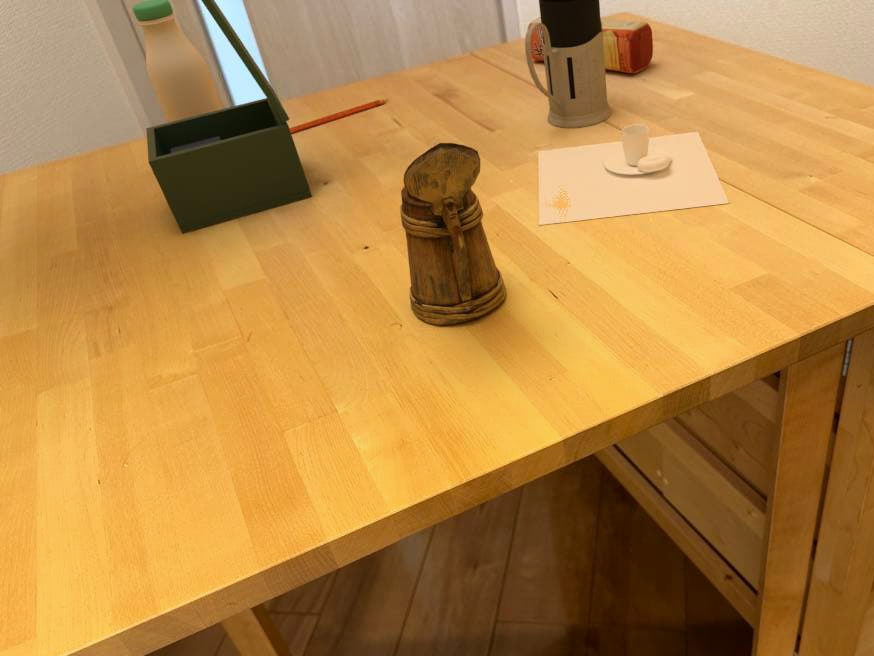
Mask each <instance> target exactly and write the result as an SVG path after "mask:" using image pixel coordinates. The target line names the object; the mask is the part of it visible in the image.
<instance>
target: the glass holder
mask: <svg viewBox="0 0 874 656" xmlns="http://www.w3.org/2000/svg"><path fill="white" fill-rule="evenodd" d="M538 5H539V6H538V7H539V14H540V16H539V17H541V23H533V24H532V25H531V26H530V27H529V28H528V27H527V30H528V31H526V33H525V39H524V51H525V58H526V64H527V66H528V71H529V73H530V76H531V79H532V81H533V83H534V85H535V86H536V89H537V90H538V91H540V93H542V94H543V95H544V96H545V97H546V98H548V105H549V106H548V107H549V108H548V114H547V122H548V123H549V124H550V125H552V126H554V127H558V128H566V129H576V128H577V129H578V128H585V127H590V126H594V125H597V124H599V123H601V122H604V121H606V120H608V118H610V116H611V115H612V109H611V107H610V105H609V103H608V93H607V79H606V77H607V76H606V69H605V60H604V44H603V30H602V22H601V20H602V19H601V7H600V5H601V4H600V0H538ZM537 26H539V27H540V29H541V30H542V33H543V38H542V46H543V55H544V61H543V63H544V71H545V80H546V81H545V82H546V88H547V89H546V88H545V87H544V86H543V84H542V82H541V81H540V79H539V77H538V74H537V72H536V68H535V65H534V61H533V60H534V59H533V58H532V54H531V35H532V33H533V30H534V29H535V28H536V27H537Z"/></svg>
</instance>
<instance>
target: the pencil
mask: <svg viewBox="0 0 874 656" xmlns="http://www.w3.org/2000/svg"><path fill="white" fill-rule="evenodd" d="M389 100H390V99H389V98H384V99H376V100H373V101H371V102H367V103H364V104H361V105H357V106H355V107H351V108H348V109H346V110H342V111H339V112H335V113H333V114H329V115H327V116H323V117H320V118H317V119H314V120H310V121H307V122H305V123H301V124H298V125H296V126H292V127H289V129H290V132H291V135H292V134H295V133H299V132H301V131H304V130H307V129H310V128H314V127H316V126H321V125H323V124H326V123H329V122H332V121H335V120H339V119H341V118H345V117H348V116H351V115H354V114H357V113H360V112H364V111H366V110H370V109H373V108H377V107H379V106H381V105H383V104H385V103H387V102H388V101H389Z"/></svg>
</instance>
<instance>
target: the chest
mask: <svg viewBox="0 0 874 656" xmlns="http://www.w3.org/2000/svg"><path fill="white" fill-rule="evenodd" d="M289 128H290V126H289V123H288V121H286V122H283V121H282V119H281V118H280V116H279V115H278V113H277V112H276V110H275V109H274V107H273V106H272V104H271V103H270V101H269V100H268V98H267V97H265V98H261V99H257V100H254V101H248V102H246V103H241V104H237V105H234V106H229V107H225V108H224V109H221V110H217V111H213V112H209V113H205V114H201V115H197V116H193V117H189V118H185V119H181V120H177V121H173V122H169V123H168V122H165V123H161V124H157V125H153V126H150V127H146V129H145V131H146V144H147V160H148V164H149V166H150V168H151V171H152V173H153V175H154V177H155V179H156V181H157V183H158V186H159V188H160V189H161V192H162V194H163V196H164V198H165V200H166V202H167V204H168V207H169V209H170V211H171V214H172V215H173V217H174V220H175V222H176V223H177V226H178V229H179V230H180V232H181V234H186V233H189V232H192V231H193V232H194V231H196V230H200V229H203V228H206V227H210V226H213V225H217V224H221V223H224V222H227V221H231V220H234V219H238V218H241V217H245V216H249V215H252V214H256V213H259V212H263V211H266V210H269V209H273V208H277V207H281V206H283V205H287V204H291V203H294V202H298V201H301V200H305V199H308V198H311V197H313V195H312V191H311V188H310V186H309V183H308V180H307V177H306V174H305V171H304V168H303V165H302V162H301V159H300V156H299V153H298V150H297V147H296V144H295V141H294V138H293V135H292V134H291V132H290V129H289ZM218 136H220V139H221V141H217V142H213V143H209V144H205V145H201V146H197V147H194V148H190V149H186V150H182V151H178V152H174V153H171V150H170V149H171V148H175V147H179V146H183V145H187V144H191V143H194V142H198V141H202V140H206V139H210V138H214V137H218Z"/></svg>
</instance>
